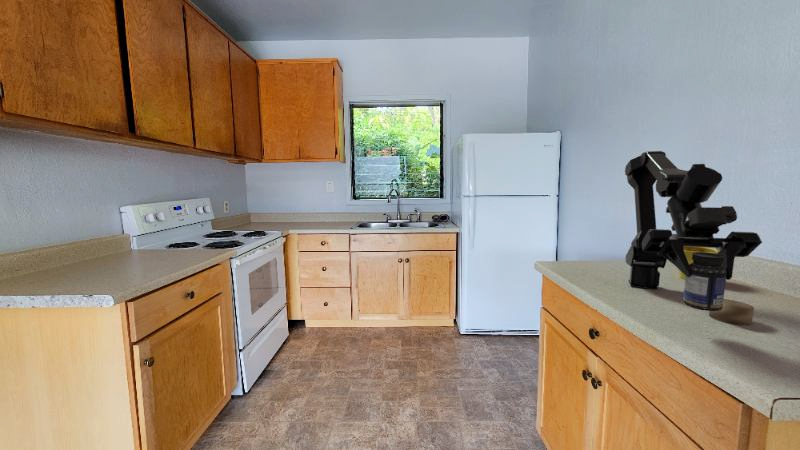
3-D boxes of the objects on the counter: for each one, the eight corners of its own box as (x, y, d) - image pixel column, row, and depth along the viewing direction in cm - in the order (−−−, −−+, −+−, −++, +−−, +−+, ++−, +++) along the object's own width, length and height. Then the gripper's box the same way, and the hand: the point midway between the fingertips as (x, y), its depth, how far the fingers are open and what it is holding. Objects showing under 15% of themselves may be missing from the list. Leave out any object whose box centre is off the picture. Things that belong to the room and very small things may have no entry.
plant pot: (683, 282, 102) (687, 251, 101) (665, 273, 112) (668, 245, 111) (723, 284, 100) (727, 252, 99) (701, 274, 110) (704, 246, 109)
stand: (714, 321, 74) (716, 306, 74) (705, 310, 80) (706, 296, 80) (758, 327, 71) (760, 312, 70) (744, 316, 77) (746, 301, 77)
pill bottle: (712, 302, 70) (718, 252, 69) (729, 314, 65) (737, 259, 63) (676, 299, 72) (682, 250, 71) (690, 310, 67) (697, 256, 65)
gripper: (651, 192, 72) (668, 253, 63) (762, 192, 66) (798, 259, 57) (635, 223, 80) (648, 280, 72) (732, 226, 75) (760, 288, 66)
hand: (709, 277), depth 66 cm, fingers closed on pill bottle, 6 cm apart
